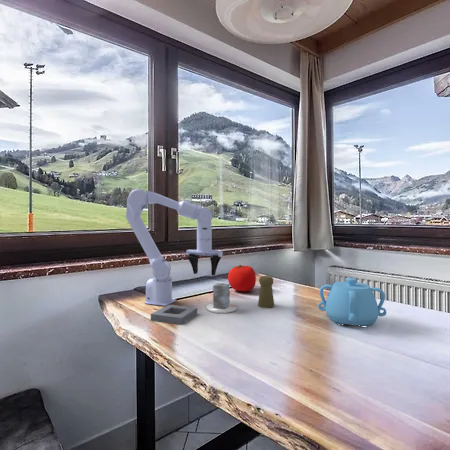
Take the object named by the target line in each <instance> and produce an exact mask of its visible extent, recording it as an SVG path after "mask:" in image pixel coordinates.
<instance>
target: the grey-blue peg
mask: <svg viewBox="0 0 450 450" xmlns="http://www.w3.org/2000/svg"><path fill="white" fill-rule="evenodd" d="M230 288H231V286H230V284H229V283H223V282H217V283H215V284H214V285H212V304H213V308H218V309H226V308H227V307H229V306H230V303H231V302H230V298H231V297H230V294H231V293H230Z"/></svg>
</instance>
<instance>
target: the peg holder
mask: <svg viewBox="0 0 450 450" xmlns="http://www.w3.org/2000/svg"><path fill="white" fill-rule="evenodd" d="M197 315H198V307H192V306H183V305H177V304H169V305H167V306H164V307H163V306H162V308H160V309H158V310H156V311H153V312H152V313H150V321H155V322H163V323H170V324H175V325H183V324H184V323H186V322H187V321H189V320H190V319H192V318H193V317H194V316H197Z"/></svg>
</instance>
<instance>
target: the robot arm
mask: <svg viewBox="0 0 450 450" xmlns="http://www.w3.org/2000/svg"><path fill="white" fill-rule="evenodd" d="M147 204H148V205H153V204H159V205H162V206H165V207H167V208H170V209H173V210H176V212H177V214H178V215H179V216H182V217H186V218H188V219H191V220H193V221H194V220H196V221H197V226H196V249H186V256H187V260H188V261H189V263H190V265H191V268H192V271H193V275H197V274H198V273H199V272H198V271H199V269H198V268H199V267H198V266H199V257H200V256H203V257H204V256H205V257H209V259H210V263H211V264H210V266H211V276H215V275H216V272H217V268H218V266H219V262H221V261H220V260H221V258H222V257H223V253H224V251H222V250H215V249H212V247H213V245H212V244H213V239H212V236H213V235H212V233H213V232H212V231H213V230H212V229H213V228H212V220H213V218H214V215H213V213H212V212H211V210H210V209H209V208H206V207H202V206H203V205H200V204H199V205H197V204H195V203H192V202H191V200H189V199H187V200H181V201H177V200H174V199H173V198H169V197H166V196H164V195H162V194H160V193H158V192H154V191H149V190H145V191H144V190H143V189H141V188H134V189H132V190H131V191H130V192H129V194H128V197H127V198H126V212H125V213H126V214H125V218H126V220H127V222H128V224H129V226H130V228H131V229H132V231H133V234H135V236H136V239H137V241H138V242H139V244H140V246H141V247H142V249H143V251H144V253H145V255H146V257H147V258H148V260H149V264H150V267H151V268H152V274H153V275H152V276H153V277H152V278H149V279H148V280H147V281H146V283H145V302H144V304H148V305H154V306H162V307H163V306H164V307H165V306H167V305H172V303H175V302H177V299H176V298H173V281H172V280H173V278H172V276H170V275H171V269H172V267H171V264H170V263H169V262H168V261H167V260H166V259H165V257H164V256H163V255H162V254H161V252H160V250H159V248H158V247H157V245H156V243H155V241H154V239H153V238H152V235H151V233H150V232H149V230H148V228H147V226H146V225H145V223H144V221H143V218H142V217H141V216H142V214H143V210H144V208H145V207H146V206H147Z"/></svg>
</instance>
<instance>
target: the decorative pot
mask: <svg viewBox="0 0 450 450" xmlns="http://www.w3.org/2000/svg"><path fill="white" fill-rule="evenodd" d="M357 281H358V279H357V278H353V277H347V278H345V281H335V282H334V283H333V284H328V283H327V284H324V285H322V286H320V288H319V296H320V299H321V302H319V303H318V304H317V307H318V310H320V311H322V312H325V313H326V315H327V316H328V318H329V320H331V321H332V322H335V324H336V323H337V324H336V325H338V324H340V325H339V326H343V325H342V324H345V325H351V326H358V325H360V326H372V325H374V323H376V321H377V320H378V319H379V317H385V316H386V315H387V309H386V308H385V307H383V305H384V303H385V299H386V293H385V292H384V290H382V289H381V288H379V287H371V286H370V285H368V284H367V283H364V282H357ZM327 288H328V289H329V291H328V294H327V297H326V298H325V295H324V289H327ZM374 292H378V293H380V294H381V296H380V297H381V298H380V300H379V303H378V302H377V299H376V297H375V294H374ZM322 305H323V307H322ZM381 311H383V312H381Z"/></svg>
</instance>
